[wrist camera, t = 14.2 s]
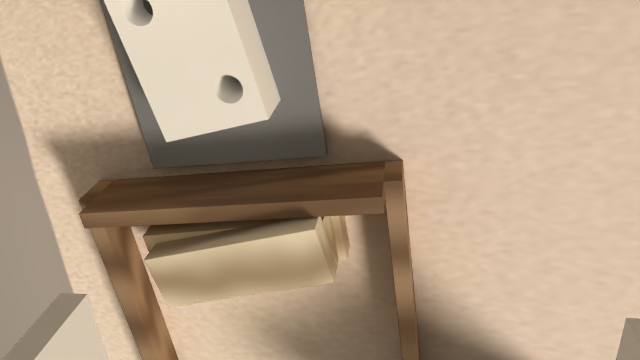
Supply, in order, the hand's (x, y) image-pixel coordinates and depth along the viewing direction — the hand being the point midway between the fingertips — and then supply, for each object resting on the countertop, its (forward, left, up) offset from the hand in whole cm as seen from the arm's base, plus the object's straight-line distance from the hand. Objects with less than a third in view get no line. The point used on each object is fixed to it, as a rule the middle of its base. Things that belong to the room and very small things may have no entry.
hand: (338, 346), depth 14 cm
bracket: (-5, -11, -24) cm, 27 cm away
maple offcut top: (+11, -10, -20) cm, 25 cm away
